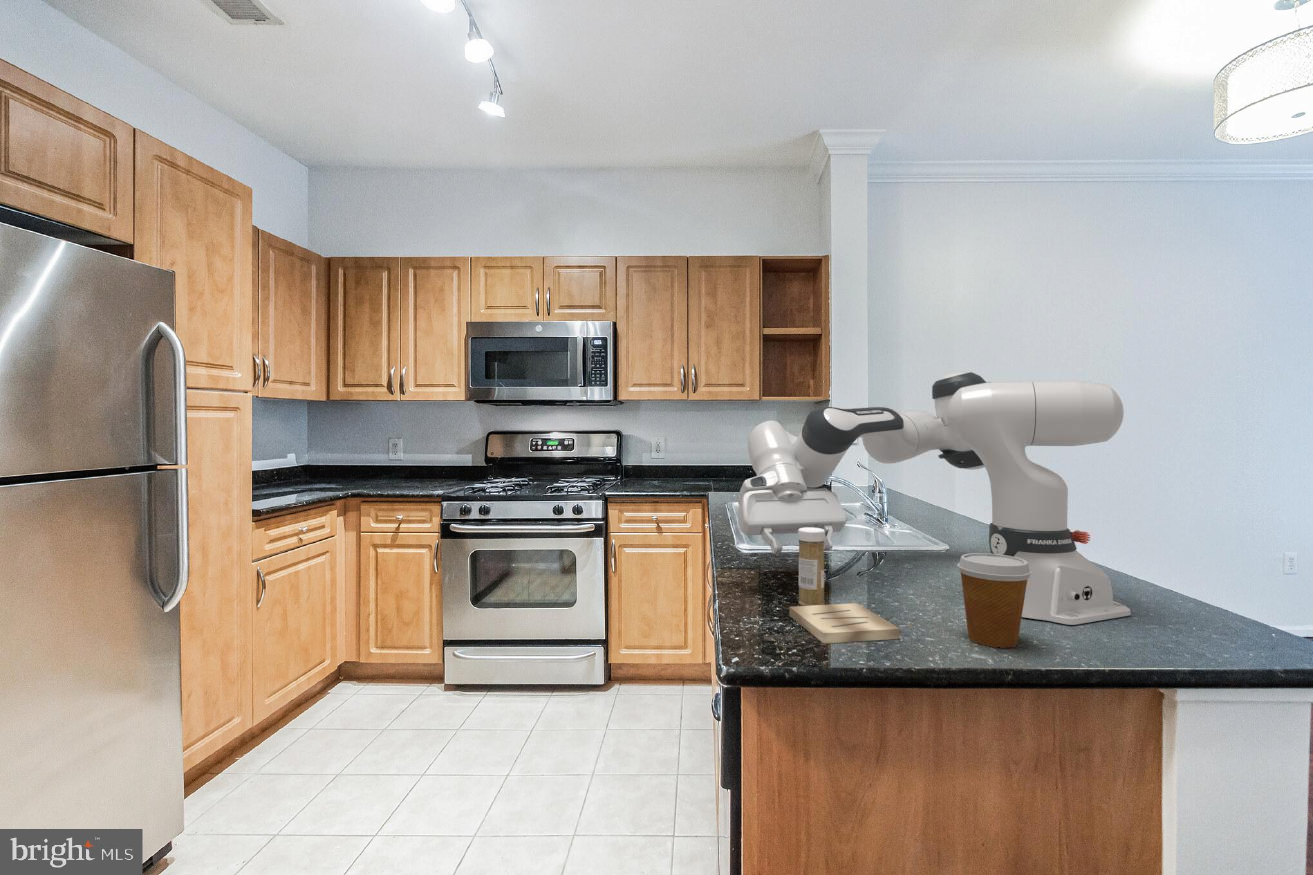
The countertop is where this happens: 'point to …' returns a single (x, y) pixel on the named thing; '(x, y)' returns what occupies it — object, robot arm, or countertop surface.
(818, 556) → the sprinkles bottle
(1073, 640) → the countertop surface
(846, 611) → the maple board
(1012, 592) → the disposable coffee cup
